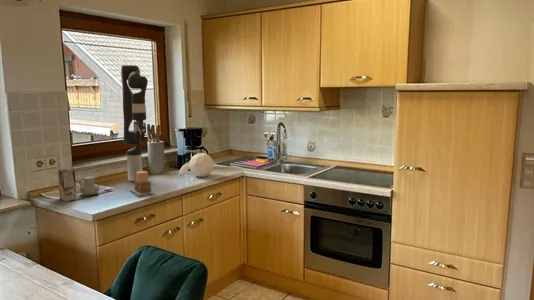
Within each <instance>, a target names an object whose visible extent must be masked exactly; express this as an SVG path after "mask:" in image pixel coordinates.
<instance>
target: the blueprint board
mask: <svg viewBox="0 0 534 300" xmlns="http://www.w3.org/2000/svg"><path fill="white" fill-rule="evenodd" d="M129 192H130V193H132V194H134V195H135V196H136V197H138V198H143V197H149V195H151V196H154V195H153V194H156V195H157V192H154V191H153V190H151V192H150V193H143V194H140V193H138V192H137V191H135V188H133V189H129Z"/></svg>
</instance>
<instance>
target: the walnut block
mask: <svg viewBox="0 0 534 300" xmlns="http://www.w3.org/2000/svg"><path fill="white" fill-rule="evenodd" d="M133 183H134V189H135V191H137V192H138V193H140V194H143V193H150V192H151V191H152V184H151V181H149V180H148V182H142V183H138V182H137V181H136V180H134V181H133Z"/></svg>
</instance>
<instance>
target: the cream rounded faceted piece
mask: <svg viewBox="0 0 534 300" xmlns="http://www.w3.org/2000/svg"><path fill="white" fill-rule="evenodd" d="M214 168H215V164H214V160H213V159H212V157H211V156H210V155H209V154H207V153H206V152H199V153H196V154H195V155H193V156H192V157H191V159H190V160H189V161H188V162H186V163H184V164H183V165H182V166H181V168H180V169H179V171H178V176H181V175H184V174H186V173H187V172H188V171H189V170H190V172H191V173H192V174H193V175H194V176H198V177H197V178H202V177H203V178H205V177H206V176H209V175H210V174H211V173H212V172H213V170H214Z"/></svg>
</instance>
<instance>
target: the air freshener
mask: <svg viewBox="0 0 534 300" xmlns="http://www.w3.org/2000/svg"><path fill="white" fill-rule="evenodd" d="M79 191H80V193H81V194H82V195H83V196H86V195H88V196H94V195H96V194H98V193H99V192H100V186H99V185H98V184H97V183H96V178H95V176H85V177H83V184H82V185H81V186H80V187H79Z"/></svg>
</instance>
